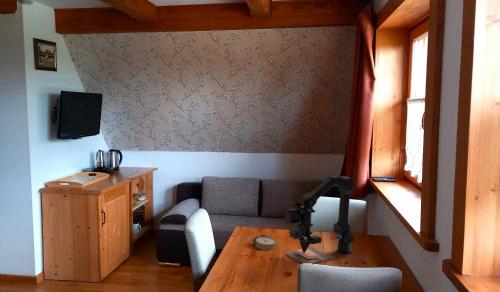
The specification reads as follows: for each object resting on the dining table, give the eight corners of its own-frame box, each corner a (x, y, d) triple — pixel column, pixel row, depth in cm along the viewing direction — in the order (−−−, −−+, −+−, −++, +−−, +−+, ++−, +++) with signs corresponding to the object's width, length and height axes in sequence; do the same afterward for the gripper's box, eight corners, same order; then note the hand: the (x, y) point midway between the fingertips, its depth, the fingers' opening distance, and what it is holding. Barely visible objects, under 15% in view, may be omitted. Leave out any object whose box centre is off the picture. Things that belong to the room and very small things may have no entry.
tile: (295, 249, 196) (295, 252, 196) (308, 256, 188) (308, 258, 188) (306, 248, 200) (306, 251, 200) (319, 255, 191) (319, 257, 191)
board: (313, 249, 206) (313, 247, 206) (334, 259, 193) (334, 257, 193) (285, 254, 197) (285, 253, 197) (305, 266, 183) (306, 263, 183)
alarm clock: (265, 246, 201) (247, 234, 212) (264, 255, 202) (246, 242, 213) (281, 242, 208) (262, 230, 219) (279, 250, 209) (261, 238, 220)
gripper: (280, 218, 195) (279, 248, 196) (304, 228, 179) (303, 261, 181) (298, 216, 201) (297, 245, 202) (322, 225, 185) (321, 257, 186)
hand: (304, 252), depth 193 cm, fingers closed
